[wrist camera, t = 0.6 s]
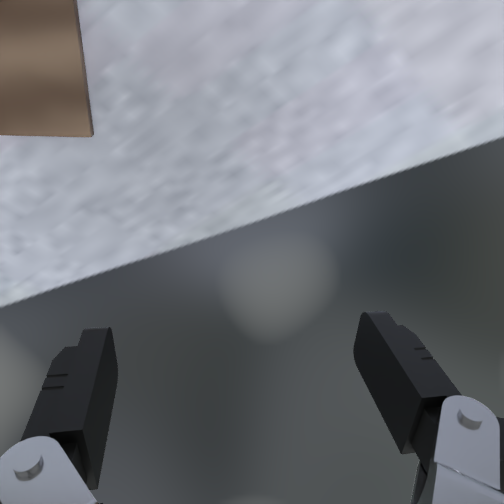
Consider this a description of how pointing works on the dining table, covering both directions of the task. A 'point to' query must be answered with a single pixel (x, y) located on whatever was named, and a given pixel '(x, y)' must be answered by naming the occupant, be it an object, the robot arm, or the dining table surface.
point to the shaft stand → (42, 70)
